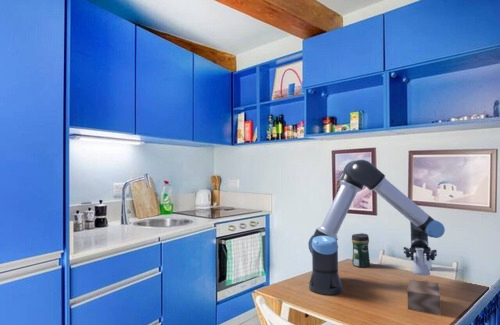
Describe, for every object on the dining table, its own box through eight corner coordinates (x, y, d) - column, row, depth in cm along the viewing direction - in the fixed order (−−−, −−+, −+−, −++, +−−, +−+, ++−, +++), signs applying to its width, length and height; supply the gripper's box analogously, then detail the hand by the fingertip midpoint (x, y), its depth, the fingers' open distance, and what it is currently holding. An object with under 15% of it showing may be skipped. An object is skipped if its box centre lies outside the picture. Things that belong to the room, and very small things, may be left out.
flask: (433, 276, 125) (432, 251, 125) (413, 275, 126) (413, 250, 127) (426, 271, 132) (425, 247, 132) (408, 270, 133) (407, 246, 134)
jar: (435, 269, 175) (434, 248, 175) (424, 271, 172) (424, 249, 173) (421, 265, 183) (421, 244, 184) (411, 267, 180) (410, 246, 181)
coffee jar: (362, 263, 190) (361, 232, 191) (372, 266, 183) (371, 234, 183) (349, 264, 186) (349, 233, 187) (359, 268, 179) (358, 235, 179)
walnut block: (407, 309, 123) (407, 291, 124) (409, 295, 137) (408, 279, 138) (440, 314, 118) (440, 295, 118) (438, 300, 132) (438, 283, 132)
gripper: (440, 258, 143) (444, 272, 123) (400, 254, 151) (398, 267, 130) (439, 241, 144) (443, 252, 123) (400, 238, 151) (397, 248, 131)
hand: (420, 260), depth 127 cm, fingers closed on flask, 3 cm apart
